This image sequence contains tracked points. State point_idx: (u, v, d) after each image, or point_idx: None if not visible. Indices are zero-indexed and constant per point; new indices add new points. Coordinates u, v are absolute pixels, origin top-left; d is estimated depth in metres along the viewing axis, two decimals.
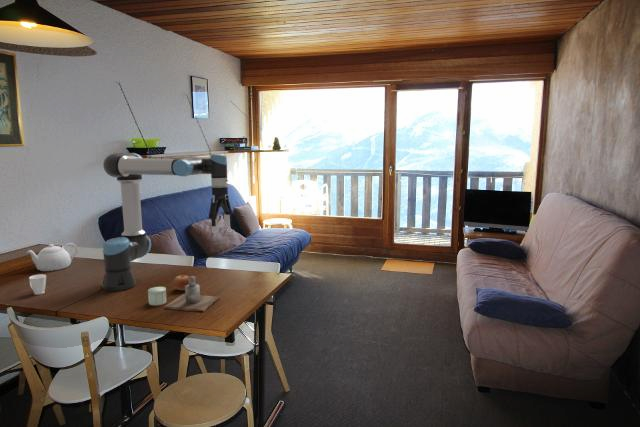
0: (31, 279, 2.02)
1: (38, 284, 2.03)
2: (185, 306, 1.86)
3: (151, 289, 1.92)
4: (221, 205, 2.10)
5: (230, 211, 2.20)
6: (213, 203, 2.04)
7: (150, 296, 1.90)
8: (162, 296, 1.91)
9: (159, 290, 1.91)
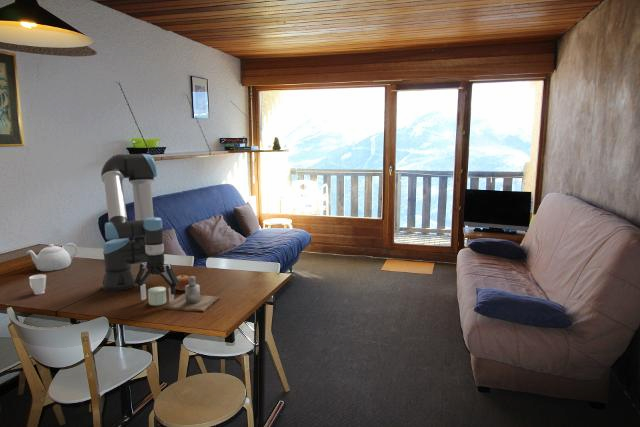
0: (31, 279, 2.02)
1: (38, 284, 2.03)
2: (185, 306, 1.86)
3: (151, 289, 1.92)
4: (153, 273, 1.90)
5: (173, 284, 1.89)
6: None
7: (150, 296, 1.90)
8: (162, 296, 1.91)
9: (159, 290, 1.91)
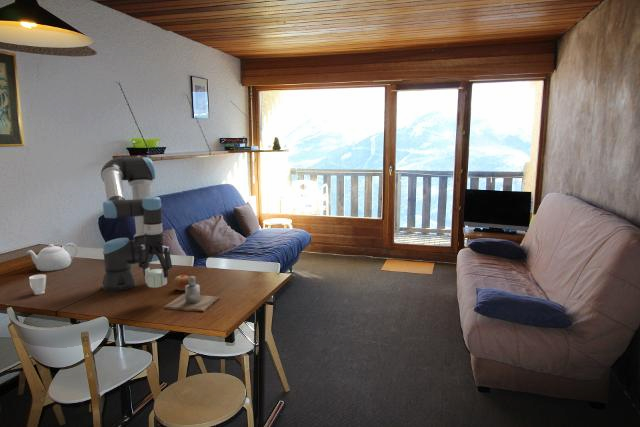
0: (31, 279, 2.02)
1: (38, 284, 2.03)
2: (185, 306, 1.86)
3: (150, 271, 1.91)
4: (151, 253, 1.89)
5: (166, 267, 1.89)
6: None
7: (149, 278, 1.89)
8: (161, 278, 1.90)
9: (158, 272, 1.90)
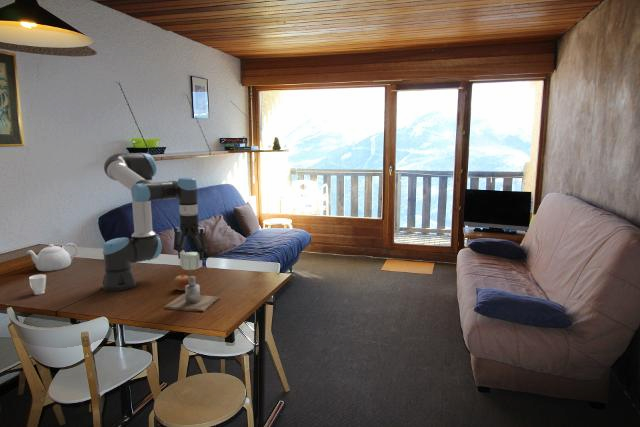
0: (31, 279, 2.02)
1: (38, 284, 2.03)
2: (185, 306, 1.86)
3: (185, 253, 1.88)
4: (186, 235, 1.86)
5: (202, 249, 1.86)
6: None
7: (184, 260, 1.86)
8: (196, 261, 1.87)
9: (193, 254, 1.87)
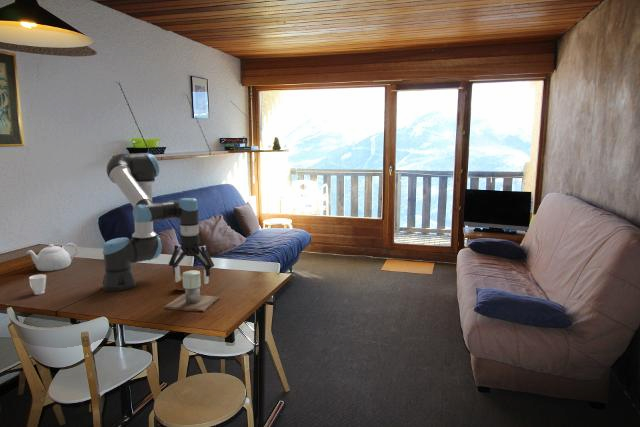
0: (31, 279, 2.02)
1: (38, 284, 2.03)
2: (185, 306, 1.86)
3: (185, 272, 1.90)
4: (187, 255, 1.88)
5: (209, 266, 1.86)
6: None
7: (185, 279, 1.87)
8: (197, 279, 1.88)
9: (194, 273, 1.88)
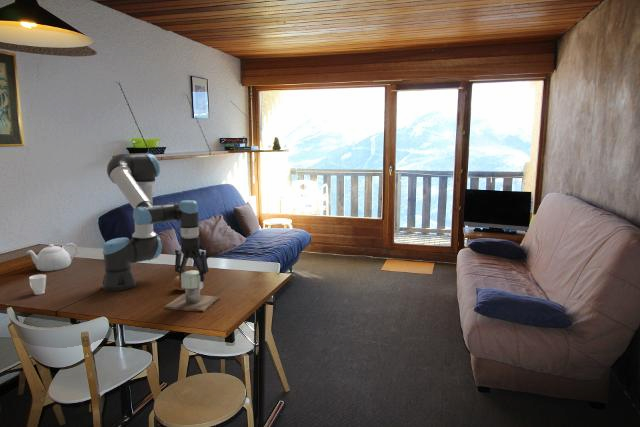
0: (31, 279, 2.02)
1: (38, 284, 2.03)
2: (185, 306, 1.86)
3: (186, 272, 1.90)
4: (188, 257, 1.88)
5: (203, 271, 1.87)
6: None
7: (185, 279, 1.87)
8: (197, 279, 1.88)
9: (194, 273, 1.88)
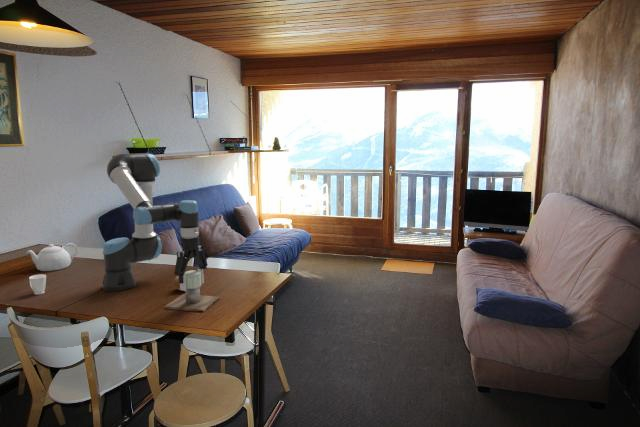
0: (31, 279, 2.02)
1: (38, 284, 2.03)
2: (185, 306, 1.86)
3: (195, 273, 1.89)
4: (191, 257, 1.88)
5: (205, 264, 1.96)
6: (179, 257, 1.83)
7: None
8: None
9: (191, 271, 1.92)
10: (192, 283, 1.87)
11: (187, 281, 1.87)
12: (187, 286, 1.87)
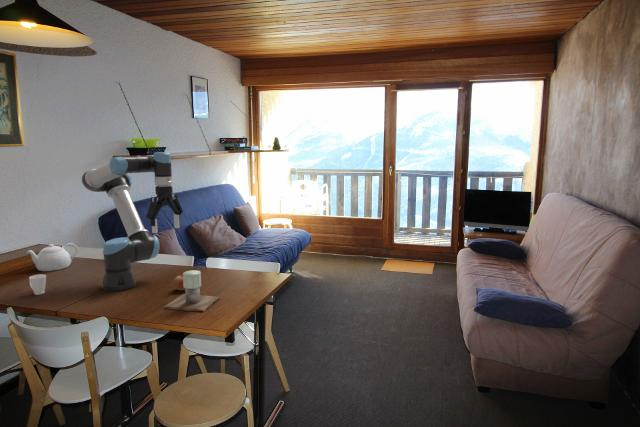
0: (31, 279, 2.02)
1: (38, 284, 2.03)
2: (185, 306, 1.86)
3: (195, 273, 1.89)
4: (165, 205, 2.04)
5: (180, 211, 2.13)
6: (152, 202, 1.99)
7: None
8: None
9: (191, 271, 1.92)
10: (192, 283, 1.87)
11: (187, 281, 1.87)
12: (187, 286, 1.87)
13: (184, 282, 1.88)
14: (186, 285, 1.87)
